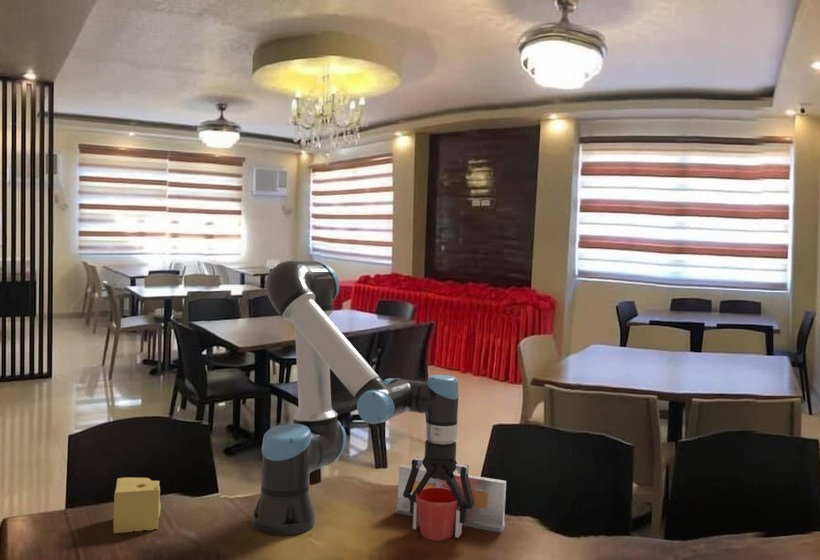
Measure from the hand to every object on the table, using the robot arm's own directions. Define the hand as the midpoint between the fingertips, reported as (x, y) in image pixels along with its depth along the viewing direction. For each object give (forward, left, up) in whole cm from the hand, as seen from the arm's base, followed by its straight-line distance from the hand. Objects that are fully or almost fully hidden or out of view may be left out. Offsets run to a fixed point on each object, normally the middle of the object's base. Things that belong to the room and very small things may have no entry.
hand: (437, 531), depth 164 cm
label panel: (0, +10, -1) cm, 10 cm away
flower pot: (0, 0, -1) cm, 1 cm away
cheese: (-67, -27, -1) cm, 72 cm away
